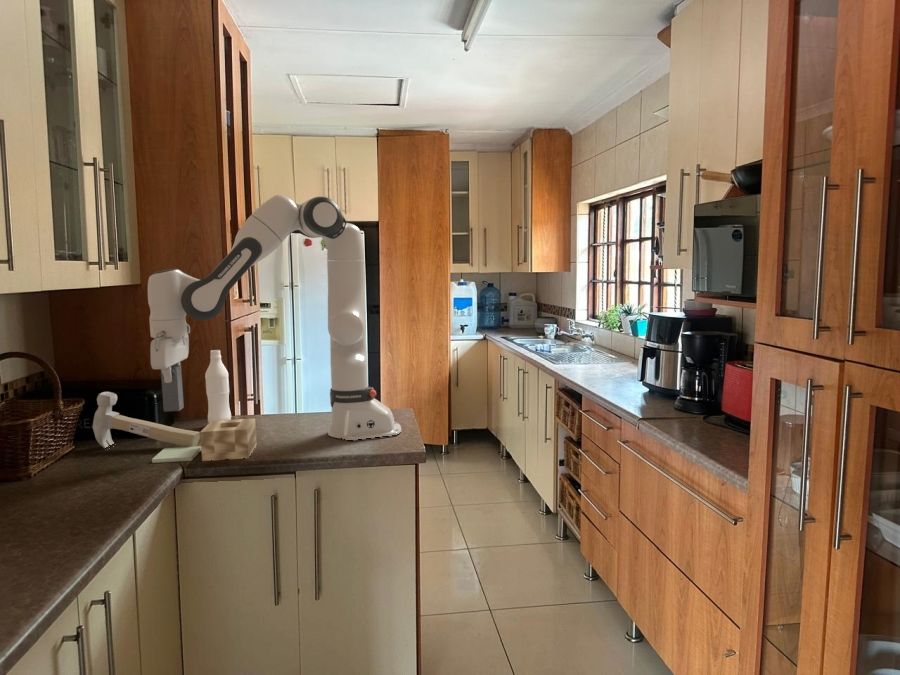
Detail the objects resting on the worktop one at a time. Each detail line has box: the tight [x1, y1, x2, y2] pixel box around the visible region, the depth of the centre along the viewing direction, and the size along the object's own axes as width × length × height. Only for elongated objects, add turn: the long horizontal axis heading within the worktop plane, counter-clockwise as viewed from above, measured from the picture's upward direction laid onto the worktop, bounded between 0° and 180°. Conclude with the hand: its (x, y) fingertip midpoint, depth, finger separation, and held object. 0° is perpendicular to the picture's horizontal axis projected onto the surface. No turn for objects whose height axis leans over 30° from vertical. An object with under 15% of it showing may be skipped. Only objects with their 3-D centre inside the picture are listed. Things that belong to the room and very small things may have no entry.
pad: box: [151, 445, 202, 464], centre depth 164 cm, size 10×10×1 cm
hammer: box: [92, 391, 201, 449], centre depth 172 cm, size 16×5×30 cm
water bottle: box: [204, 349, 232, 424], centre depth 193 cm, size 7×7×25 cm
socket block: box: [199, 418, 257, 462], centre depth 165 cm, size 12×12×8 cm
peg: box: [160, 364, 185, 413], centre depth 161 cm, size 4×4×12 cm
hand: (172, 380), depth 161 cm, fingers closed on peg, 4 cm apart
